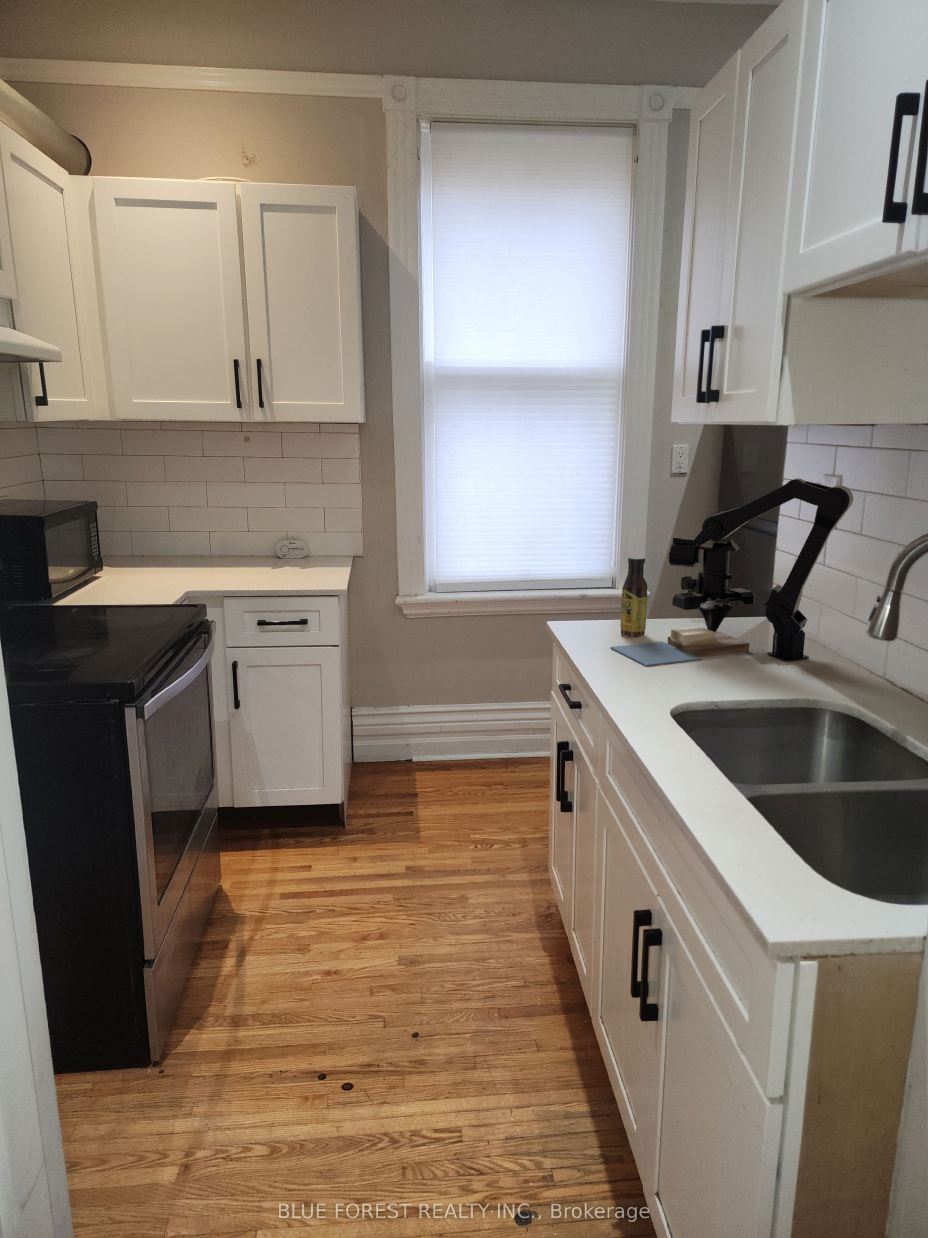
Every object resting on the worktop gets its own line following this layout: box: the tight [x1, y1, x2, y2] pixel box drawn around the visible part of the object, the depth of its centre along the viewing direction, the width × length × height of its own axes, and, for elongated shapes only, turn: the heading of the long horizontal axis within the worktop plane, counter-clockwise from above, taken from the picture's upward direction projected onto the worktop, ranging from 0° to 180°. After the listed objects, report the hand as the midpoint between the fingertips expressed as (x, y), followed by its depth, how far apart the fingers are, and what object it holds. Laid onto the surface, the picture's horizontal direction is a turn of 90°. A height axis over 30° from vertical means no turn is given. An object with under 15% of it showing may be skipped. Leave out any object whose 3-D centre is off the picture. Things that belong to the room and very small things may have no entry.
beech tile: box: [670, 626, 717, 646], centre depth 189 cm, size 6×8×2 cm
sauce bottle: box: [619, 555, 648, 638], centre depth 201 cm, size 6×6×20 cm
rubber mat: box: [610, 641, 702, 667], centre depth 186 cm, size 16×14×1 cm
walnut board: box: [667, 630, 750, 658], centre depth 190 cm, size 12×14×2 cm
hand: (711, 634), depth 190 cm, fingers closed
